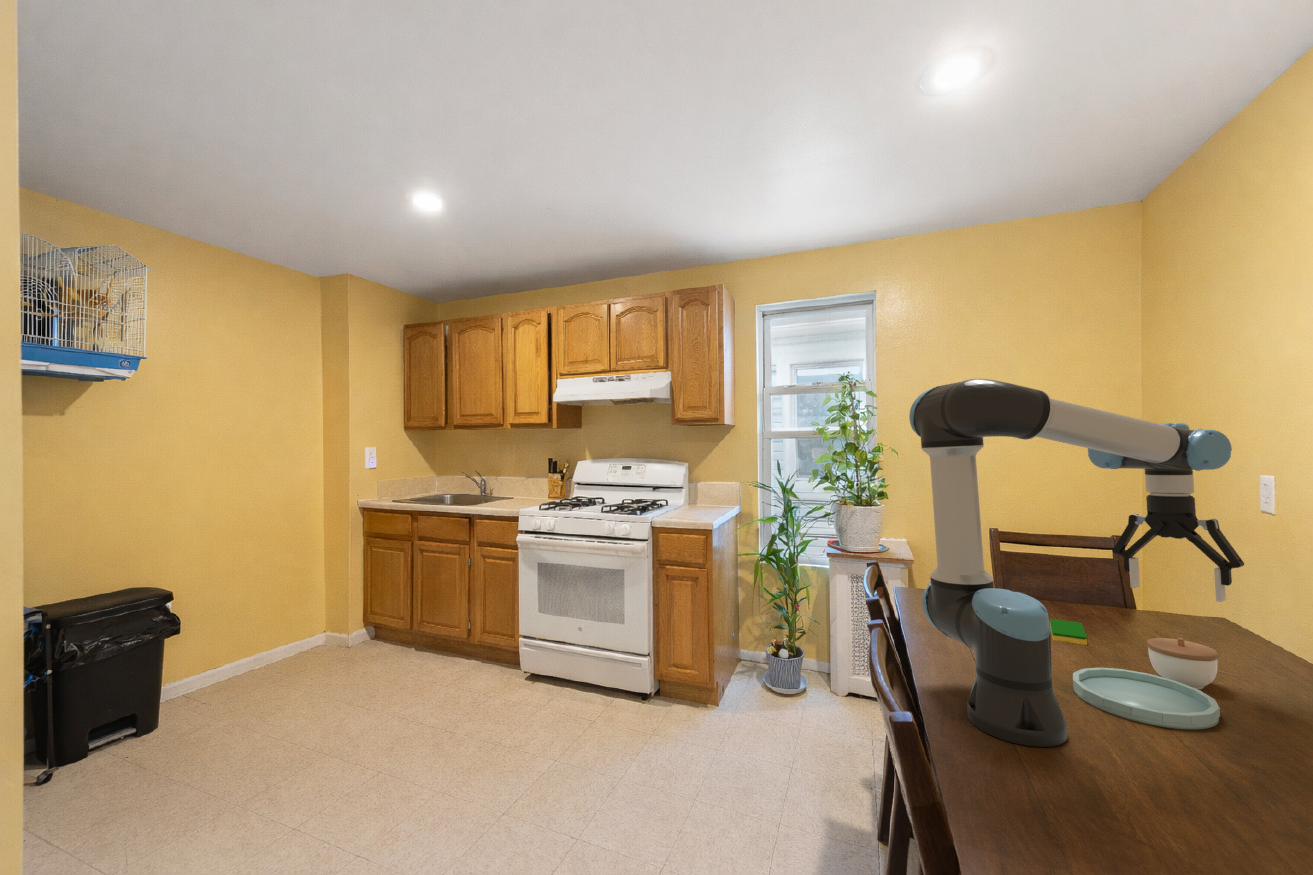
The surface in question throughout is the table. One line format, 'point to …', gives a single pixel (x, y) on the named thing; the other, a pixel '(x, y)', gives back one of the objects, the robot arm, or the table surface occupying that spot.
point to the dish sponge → (1068, 631)
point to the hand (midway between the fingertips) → (1175, 593)
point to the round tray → (1146, 698)
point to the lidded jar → (1183, 661)
